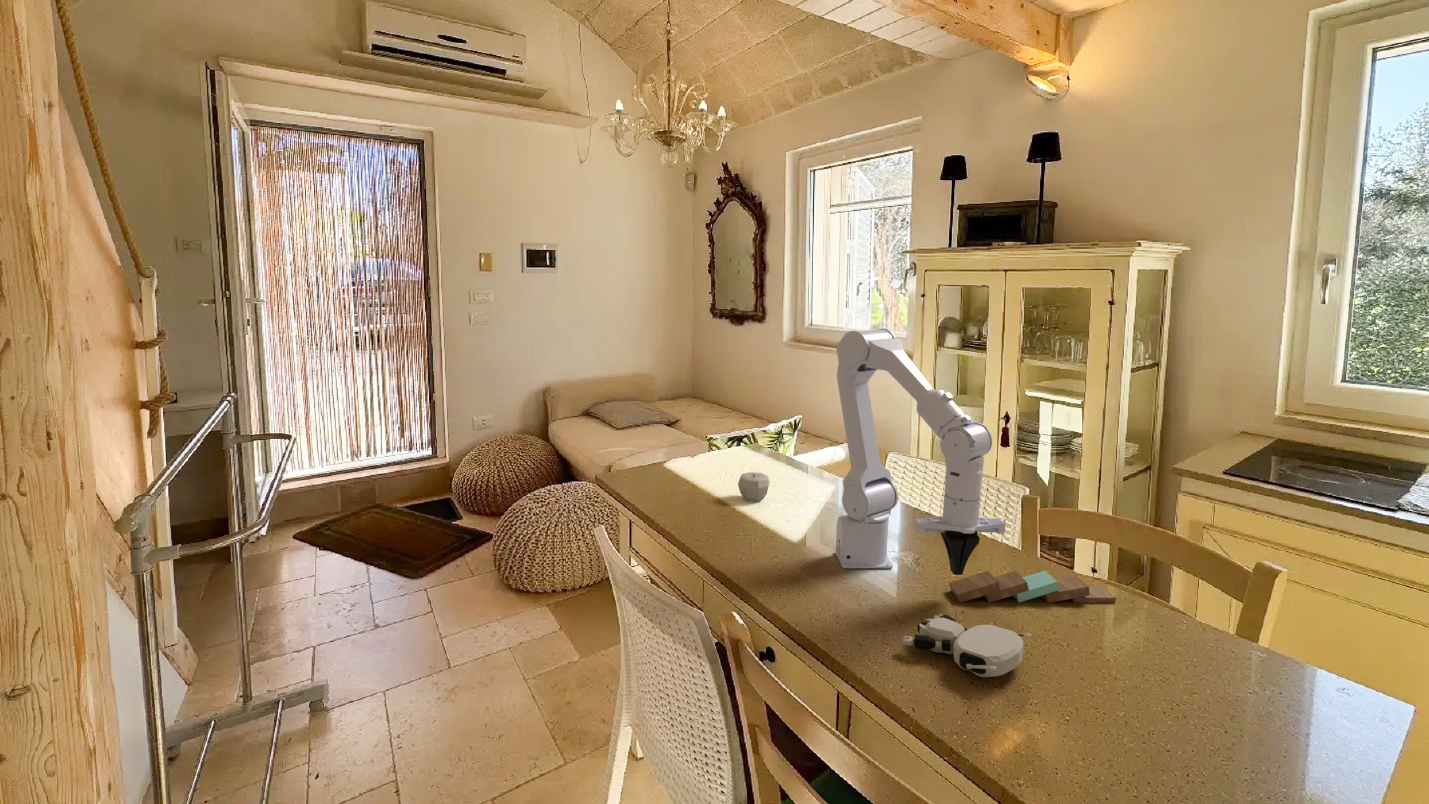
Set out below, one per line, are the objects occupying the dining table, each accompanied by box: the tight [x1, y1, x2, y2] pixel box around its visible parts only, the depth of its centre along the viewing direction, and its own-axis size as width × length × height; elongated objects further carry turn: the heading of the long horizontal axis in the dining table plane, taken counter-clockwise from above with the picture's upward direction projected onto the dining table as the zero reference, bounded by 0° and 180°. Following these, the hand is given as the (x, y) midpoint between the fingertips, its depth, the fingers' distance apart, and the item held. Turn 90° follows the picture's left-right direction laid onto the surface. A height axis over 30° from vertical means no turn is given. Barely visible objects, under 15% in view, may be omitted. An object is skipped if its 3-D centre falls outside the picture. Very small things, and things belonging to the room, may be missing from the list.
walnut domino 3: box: [1041, 574, 1090, 604], centre depth 119 cm, size 2×4×7 cm
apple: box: [737, 471, 770, 503], centre depth 168 cm, size 8×8×7 cm
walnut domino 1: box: [948, 570, 1000, 604], centre depth 119 cm, size 2×4×7 cm
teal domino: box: [1012, 570, 1059, 603], centre depth 119 cm, size 2×4×7 cm
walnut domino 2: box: [982, 570, 1029, 604], centre depth 119 cm, size 2×4×7 cm
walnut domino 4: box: [1071, 585, 1117, 604], centre depth 119 cm, size 2×4×7 cm
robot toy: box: [902, 613, 1033, 678], centre depth 100 cm, size 12×4×15 cm
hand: (956, 572), depth 118 cm, fingers closed
